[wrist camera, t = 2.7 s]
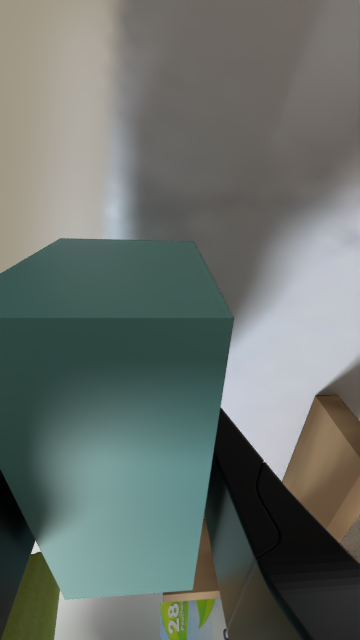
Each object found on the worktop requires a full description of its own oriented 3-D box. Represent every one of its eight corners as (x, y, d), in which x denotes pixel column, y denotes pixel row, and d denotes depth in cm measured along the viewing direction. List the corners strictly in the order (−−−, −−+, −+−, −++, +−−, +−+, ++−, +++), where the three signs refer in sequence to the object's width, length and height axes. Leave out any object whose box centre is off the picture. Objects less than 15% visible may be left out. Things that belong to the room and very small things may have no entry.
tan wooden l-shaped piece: (338, 395, 16) (395, 465, 12) (281, 522, 24) (305, 590, 20) (163, 399, 15) (164, 475, 11) (162, 530, 23) (163, 602, 19)
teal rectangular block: (193, 241, 8) (233, 317, 4) (181, 448, 13) (192, 590, 8) (60, 238, 8) (-75, 317, 3) (99, 451, 12) (65, 599, 8)
